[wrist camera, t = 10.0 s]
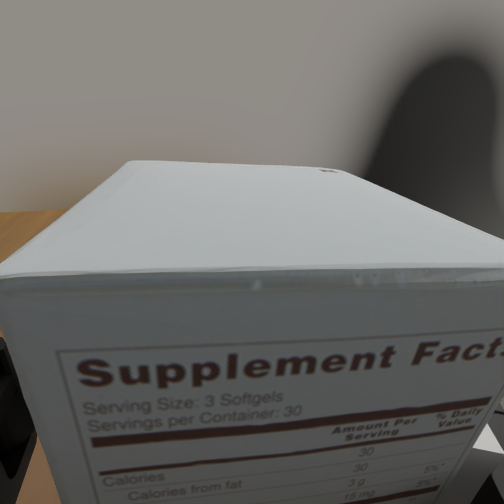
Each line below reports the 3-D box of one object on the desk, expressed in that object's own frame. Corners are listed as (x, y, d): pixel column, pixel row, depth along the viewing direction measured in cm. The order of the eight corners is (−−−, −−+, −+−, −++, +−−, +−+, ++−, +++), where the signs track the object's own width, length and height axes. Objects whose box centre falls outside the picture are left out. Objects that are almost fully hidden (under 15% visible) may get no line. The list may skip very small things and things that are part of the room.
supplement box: (153, 429, 14) (125, 155, 9) (301, 414, 16) (351, 166, 10) (115, 699, 8) (-63, 268, 3) (376, 635, 9) (613, 259, 4)
